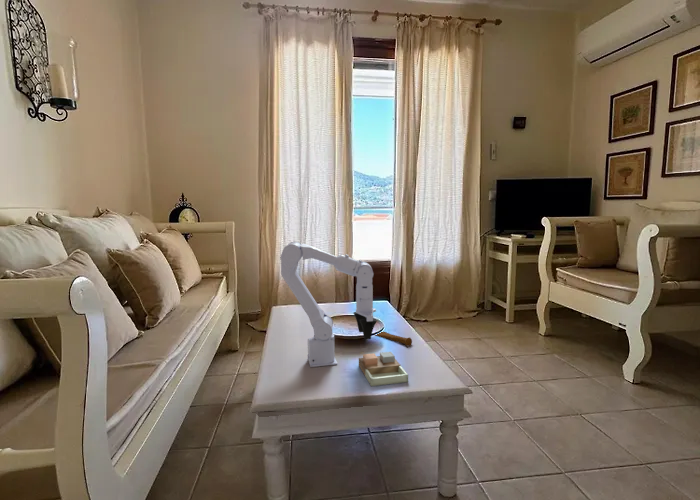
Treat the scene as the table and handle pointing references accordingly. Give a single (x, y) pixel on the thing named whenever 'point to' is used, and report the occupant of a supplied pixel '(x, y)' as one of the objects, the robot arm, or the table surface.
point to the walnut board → (379, 366)
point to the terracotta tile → (370, 359)
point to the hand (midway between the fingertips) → (364, 335)
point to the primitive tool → (396, 338)
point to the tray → (387, 377)
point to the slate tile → (387, 357)
